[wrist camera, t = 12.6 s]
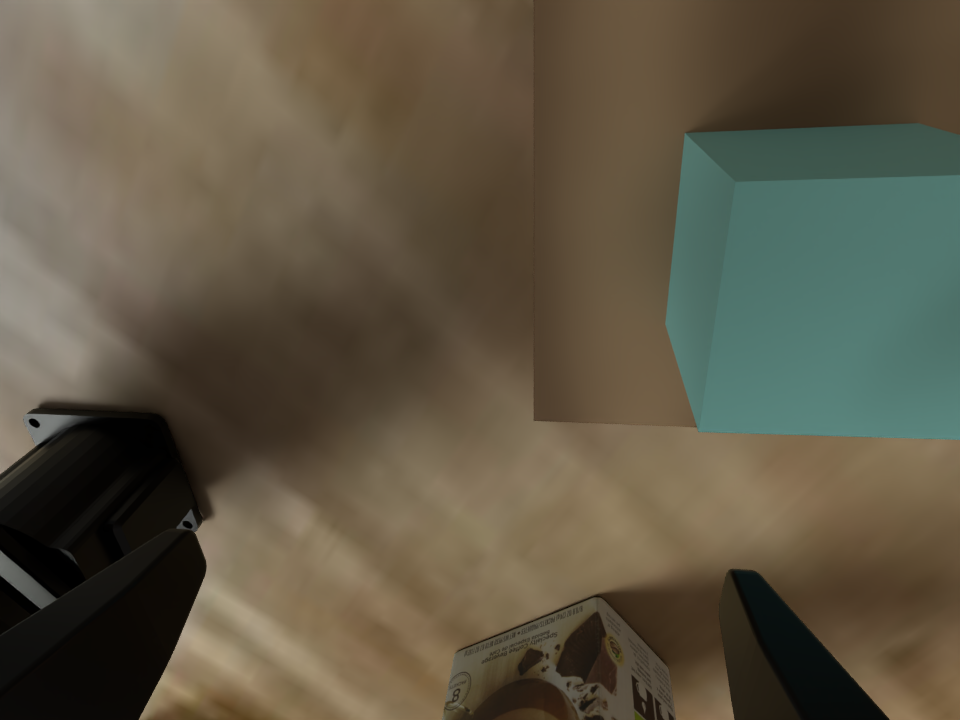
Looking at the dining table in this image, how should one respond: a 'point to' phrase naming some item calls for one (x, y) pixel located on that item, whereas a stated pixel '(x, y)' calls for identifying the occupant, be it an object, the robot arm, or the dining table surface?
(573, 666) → the coffee box
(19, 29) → the dining table surface
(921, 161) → the teal block
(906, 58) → the walnut block
